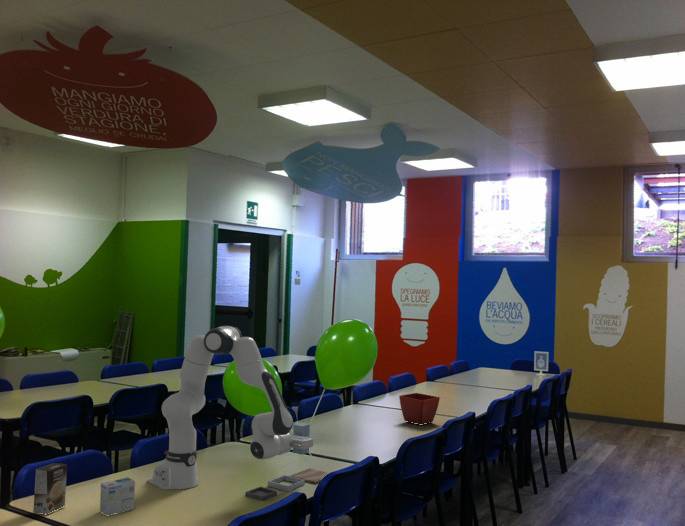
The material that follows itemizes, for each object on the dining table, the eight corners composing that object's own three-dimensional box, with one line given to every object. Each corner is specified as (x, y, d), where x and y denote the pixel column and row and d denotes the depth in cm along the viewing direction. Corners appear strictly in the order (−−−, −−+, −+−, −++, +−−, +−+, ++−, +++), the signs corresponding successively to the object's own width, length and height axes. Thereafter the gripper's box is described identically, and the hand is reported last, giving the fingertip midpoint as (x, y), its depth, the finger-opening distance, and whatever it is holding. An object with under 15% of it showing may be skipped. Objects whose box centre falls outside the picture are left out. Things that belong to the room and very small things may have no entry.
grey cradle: (267, 485, 260) (268, 481, 260) (284, 479, 269) (284, 474, 269) (288, 491, 254) (288, 486, 254) (304, 484, 263) (304, 479, 263)
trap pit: (245, 495, 247) (245, 492, 247) (260, 490, 254) (260, 486, 254) (262, 500, 242) (262, 496, 242) (276, 494, 249) (277, 490, 249)
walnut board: (290, 477, 272) (290, 475, 272) (309, 470, 283) (309, 468, 283) (315, 484, 264) (315, 481, 264) (334, 476, 275) (334, 474, 275)
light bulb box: (126, 505, 233) (127, 476, 233) (134, 510, 228) (136, 480, 229) (98, 511, 225) (100, 482, 226) (106, 517, 221) (107, 486, 221)
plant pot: (439, 423, 391) (440, 396, 392) (422, 427, 377) (422, 400, 378) (415, 418, 404) (416, 392, 405) (397, 422, 390) (398, 395, 391)
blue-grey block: (292, 452, 267) (293, 424, 267) (299, 450, 271) (300, 422, 271) (301, 454, 264) (302, 426, 264) (308, 452, 268) (309, 424, 268)
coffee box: (47, 516, 220) (49, 470, 220) (32, 513, 222) (34, 468, 222) (65, 507, 229) (67, 464, 229) (51, 505, 230) (53, 462, 231)
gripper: (301, 439, 251) (321, 433, 263) (264, 431, 263) (285, 426, 274) (301, 454, 251) (321, 447, 262) (263, 446, 262) (284, 440, 274)
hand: (302, 436), depth 268 cm, fingers closed on blue-grey block, 5 cm apart
